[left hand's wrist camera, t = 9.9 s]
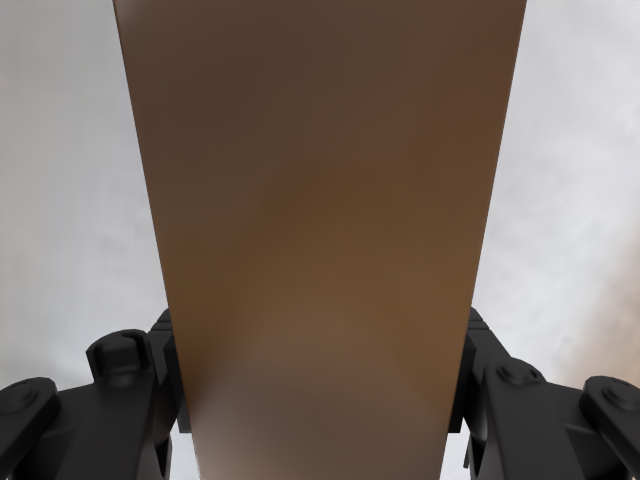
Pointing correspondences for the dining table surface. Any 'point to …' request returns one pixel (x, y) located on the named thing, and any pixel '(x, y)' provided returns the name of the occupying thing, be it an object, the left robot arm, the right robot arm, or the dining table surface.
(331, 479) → the beam
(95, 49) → the dining table surface
